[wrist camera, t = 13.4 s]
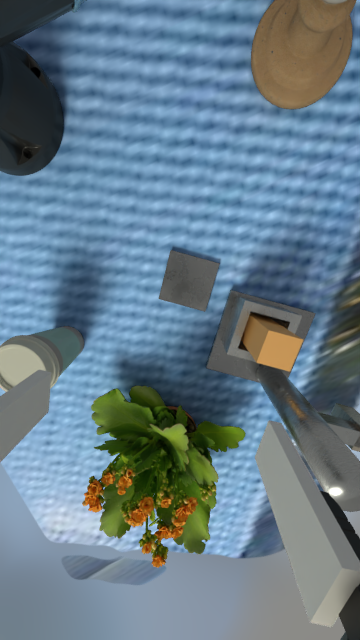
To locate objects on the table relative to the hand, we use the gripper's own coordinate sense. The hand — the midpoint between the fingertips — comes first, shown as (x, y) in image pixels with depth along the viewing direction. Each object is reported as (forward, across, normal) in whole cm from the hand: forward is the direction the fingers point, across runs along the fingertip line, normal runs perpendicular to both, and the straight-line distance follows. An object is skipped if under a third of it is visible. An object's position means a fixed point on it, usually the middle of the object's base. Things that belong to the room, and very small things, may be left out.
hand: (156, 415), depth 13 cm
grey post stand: (+25, +17, -1) cm, 30 cm away
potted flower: (+26, +4, -22) cm, 34 cm away
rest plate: (+26, 0, +6) cm, 27 cm away
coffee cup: (+26, -18, -9) cm, 33 cm away
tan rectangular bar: (+25, +12, +2) cm, 27 cm away
